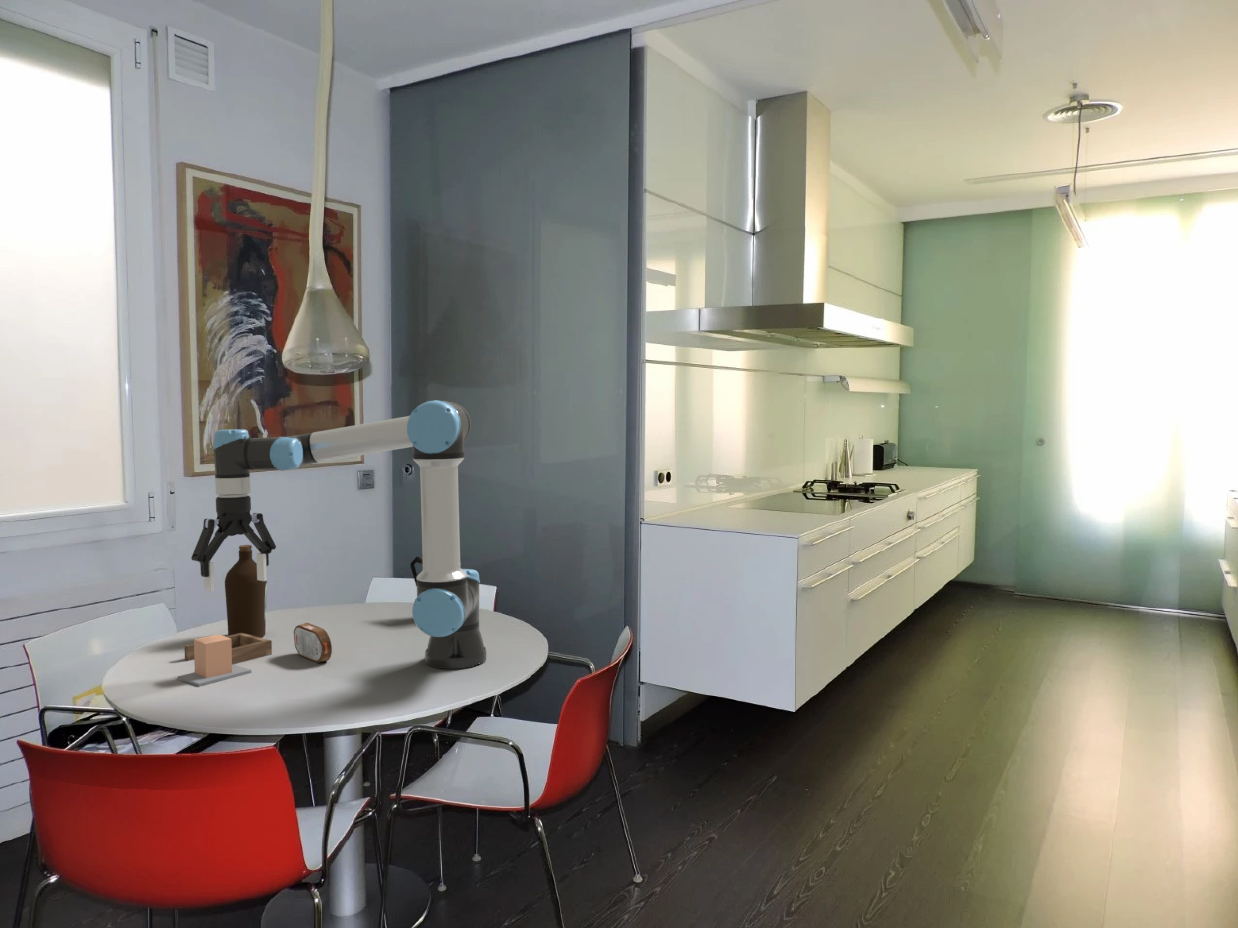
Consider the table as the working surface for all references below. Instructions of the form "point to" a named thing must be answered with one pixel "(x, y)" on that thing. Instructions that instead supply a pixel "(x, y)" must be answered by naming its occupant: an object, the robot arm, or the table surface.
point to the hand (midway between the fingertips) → (236, 585)
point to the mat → (201, 680)
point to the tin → (312, 642)
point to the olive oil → (245, 596)
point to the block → (213, 656)
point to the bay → (241, 648)
